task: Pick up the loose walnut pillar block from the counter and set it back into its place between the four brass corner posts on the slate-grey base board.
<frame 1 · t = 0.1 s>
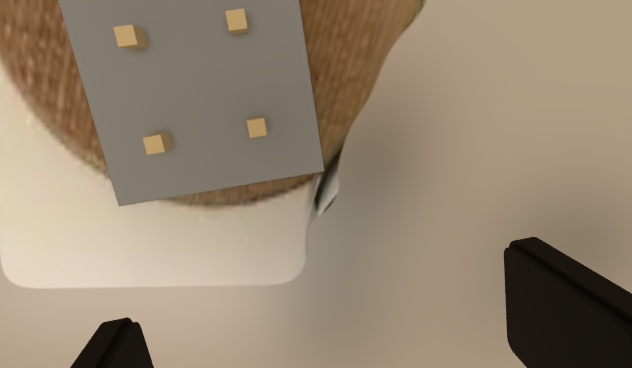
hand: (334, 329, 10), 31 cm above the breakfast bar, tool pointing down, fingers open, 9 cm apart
base board: (203, 83, 38), on the breakfast bar
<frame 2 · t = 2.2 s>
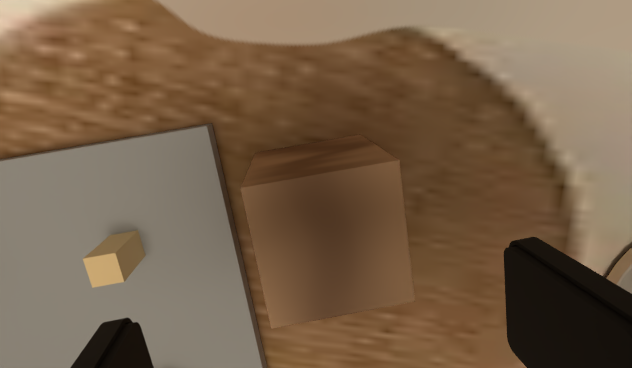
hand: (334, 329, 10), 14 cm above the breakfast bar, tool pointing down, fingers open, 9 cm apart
walnut block: (316, 193, 23), on the breakfast bar
base board: (83, 317, 24), on the breakfast bar
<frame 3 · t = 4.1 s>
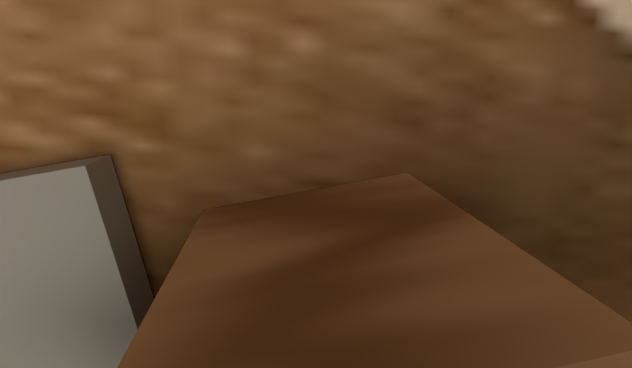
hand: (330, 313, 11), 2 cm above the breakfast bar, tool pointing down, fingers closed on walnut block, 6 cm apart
walnut block: (322, 283, 12), on the breakfast bar, touching gripper
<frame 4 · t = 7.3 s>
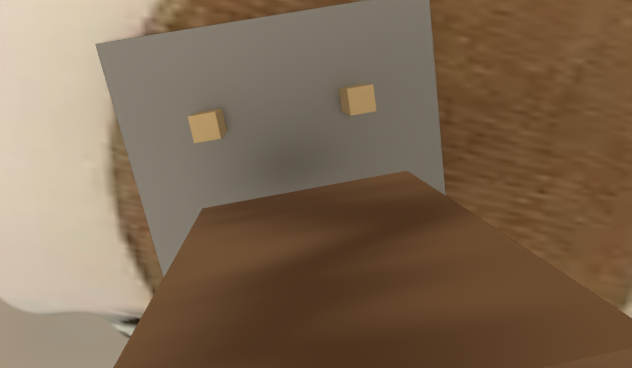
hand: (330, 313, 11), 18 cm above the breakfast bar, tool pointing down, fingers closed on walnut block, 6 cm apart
walnut block: (322, 281, 12), point 16 cm above the breakfast bar, touching gripper
base board: (294, 172, 28), on the breakfast bar
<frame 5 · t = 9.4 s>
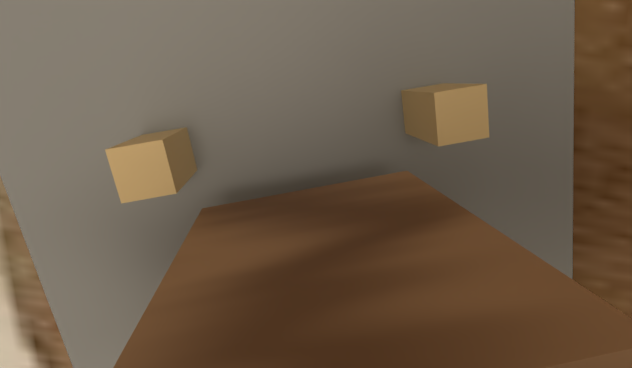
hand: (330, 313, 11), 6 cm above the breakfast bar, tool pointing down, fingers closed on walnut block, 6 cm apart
walnut block: (322, 281, 12), point 4 cm above the breakfast bar, touching gripper
base board: (315, 233, 16), on the breakfast bar
when the fingers open (4 cm above the breakfast bar, at t = 10.7 s): walnut block stays where it is, resting on base board.
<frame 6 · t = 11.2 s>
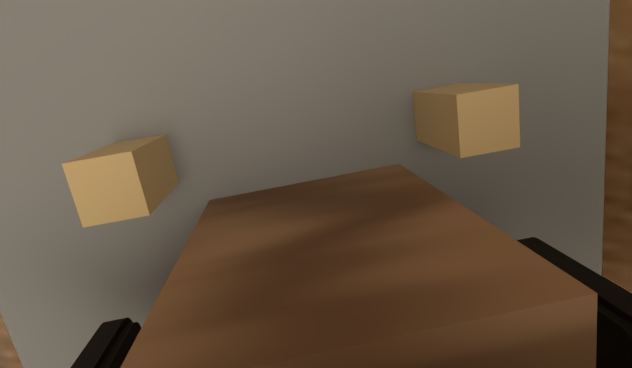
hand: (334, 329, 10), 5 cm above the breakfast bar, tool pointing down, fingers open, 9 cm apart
walnut block: (321, 268, 13), point 1 cm above the breakfast bar, touching base board
base board: (314, 251, 15), on the breakfast bar
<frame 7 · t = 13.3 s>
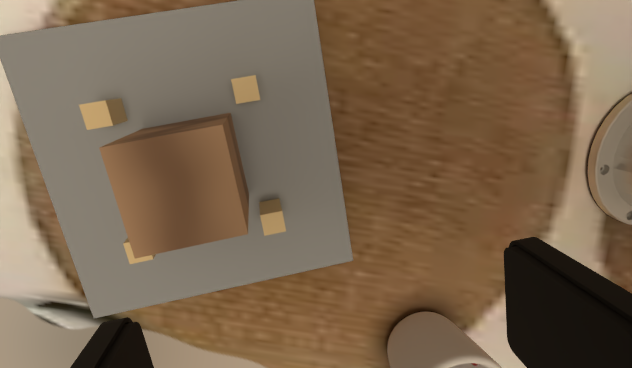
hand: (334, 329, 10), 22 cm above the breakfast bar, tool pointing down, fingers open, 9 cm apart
walnut block: (197, 162, 28), point 1 cm above the breakfast bar, touching base board
cup: (427, 344, 37), on the breakfast bar
base board: (199, 159, 30), on the breakfast bar
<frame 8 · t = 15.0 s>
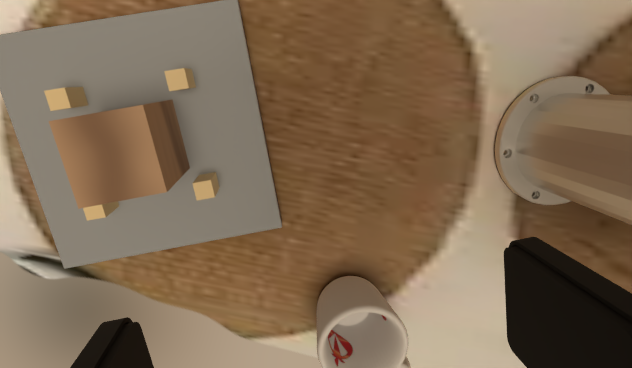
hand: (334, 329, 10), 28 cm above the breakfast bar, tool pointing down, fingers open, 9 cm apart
walnut block: (146, 140, 34), point 1 cm above the breakfast bar, touching base board
cup: (356, 306, 42), on the breakfast bar
base board: (150, 138, 36), on the breakfast bar
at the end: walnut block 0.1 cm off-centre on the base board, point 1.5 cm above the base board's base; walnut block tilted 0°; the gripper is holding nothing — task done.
